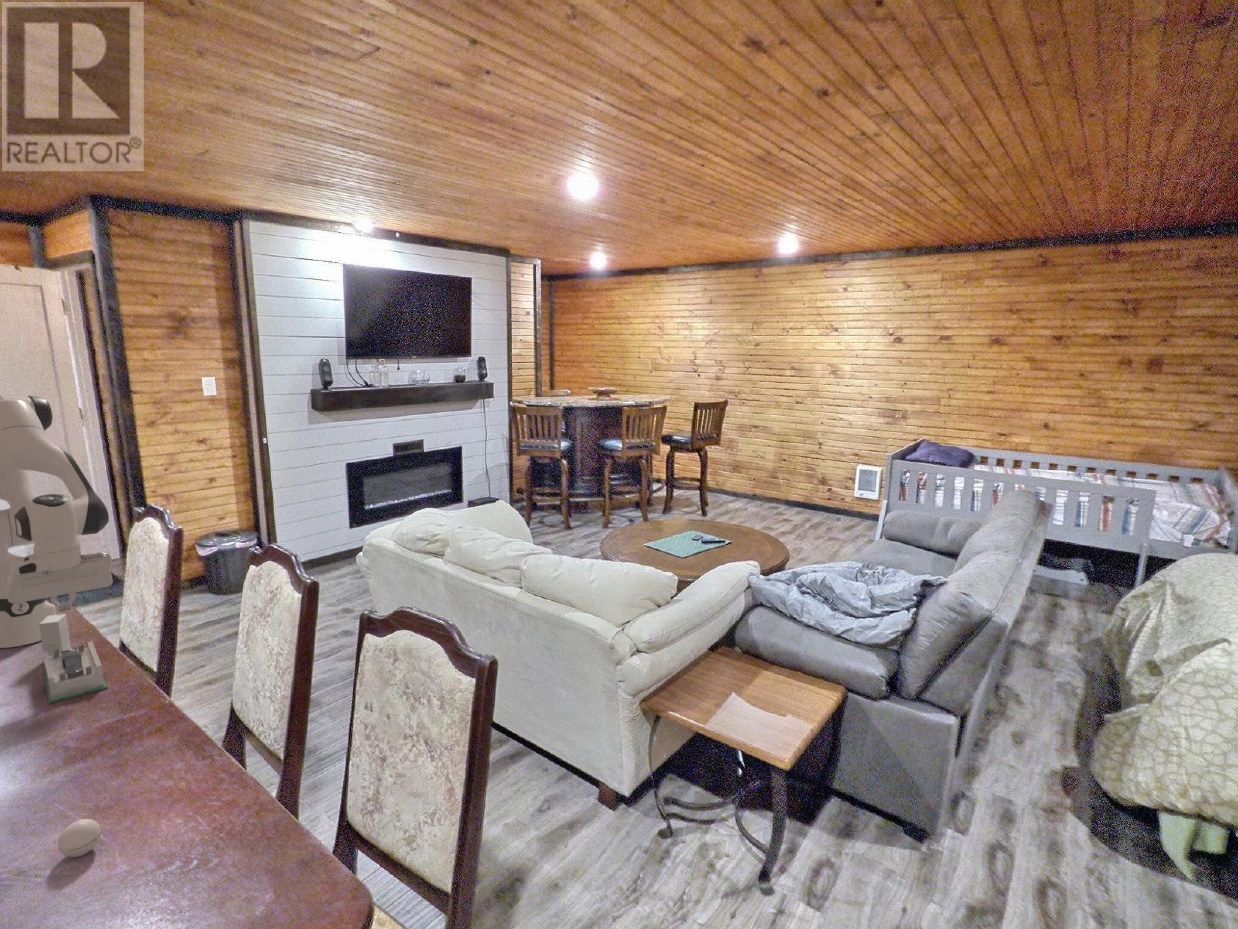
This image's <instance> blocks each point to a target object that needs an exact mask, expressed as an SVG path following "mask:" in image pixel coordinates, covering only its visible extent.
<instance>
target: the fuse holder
mask: <svg viewBox="0 0 1238 929" xmlns="http://www.w3.org/2000/svg"><path fill="white" fill-rule="evenodd" d="M77 646H78V649H77V652H78V653H80V658H81V662H82V667H83V671H84V674H82V675H78V676H74V677H70V678H68V676H67V671H66V666H65V661H64V658H63V657H62V654H59V650H58V649H56V650H53V652H54V655H53V656H49V653H48V651H47V652H43V651H42V656H43V662H44V669H45V670H43V671H42V675H43V679H44V684H45V685H44V686H45V691H46V695H47V701H48V704H49V705H53V704H57V703H60V702H65V701H68V700H71V699H75V698H79V697H82V696H86V695H90V694H93V693H97V692H100V691H104V690H108V686H107V682H106V680H105V678H104V674H103V667H102V666H103V665H102V662H101V661H100V658H99V654H98V653H97V652H98V651H97V650H96V647H95V644H94V642H93V640H92V641H91V640H90V641H87V647H84V643H78V644H77Z"/></svg>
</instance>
